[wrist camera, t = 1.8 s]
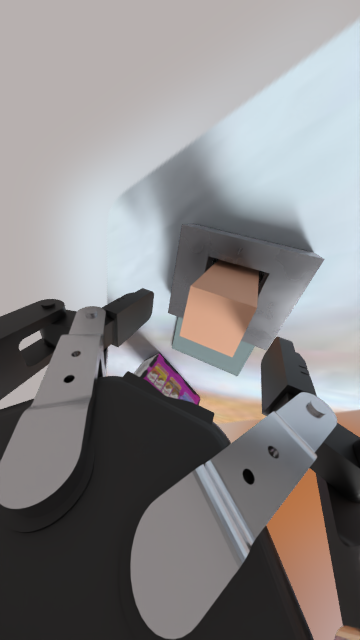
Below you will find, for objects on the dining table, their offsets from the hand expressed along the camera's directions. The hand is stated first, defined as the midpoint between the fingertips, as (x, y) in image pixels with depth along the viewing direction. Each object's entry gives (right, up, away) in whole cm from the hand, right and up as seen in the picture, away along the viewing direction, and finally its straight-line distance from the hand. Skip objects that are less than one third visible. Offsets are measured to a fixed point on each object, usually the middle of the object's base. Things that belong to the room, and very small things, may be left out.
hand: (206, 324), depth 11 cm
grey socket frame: (+4, +4, +7) cm, 9 cm away
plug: (+4, +4, +7) cm, 9 cm away
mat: (+2, -3, +12) cm, 13 cm away
